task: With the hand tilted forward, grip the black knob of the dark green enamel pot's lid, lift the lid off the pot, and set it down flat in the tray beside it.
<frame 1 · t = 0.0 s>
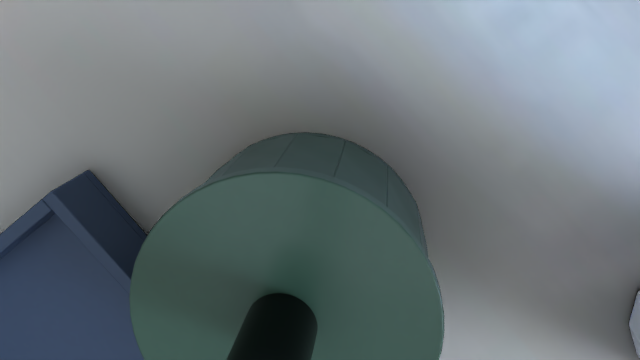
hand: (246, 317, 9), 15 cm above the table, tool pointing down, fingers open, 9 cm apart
lid: (285, 314, 20), point 6 cm above the table, touching pot
pot: (308, 243, 25), on the table
tray: (90, 353, 28), on the table
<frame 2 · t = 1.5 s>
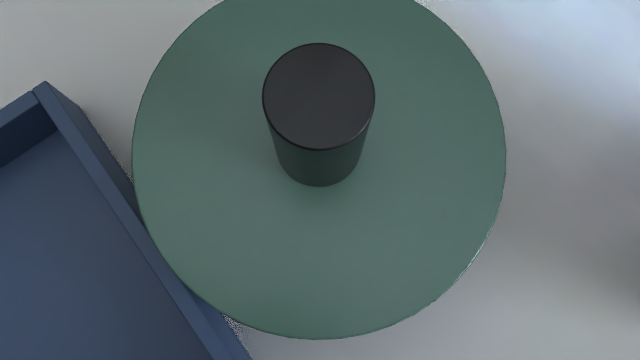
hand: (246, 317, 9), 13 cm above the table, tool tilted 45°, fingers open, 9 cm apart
lid: (318, 150, 17), point 6 cm above the table, touching pot
tray: (19, 351, 21), on the table
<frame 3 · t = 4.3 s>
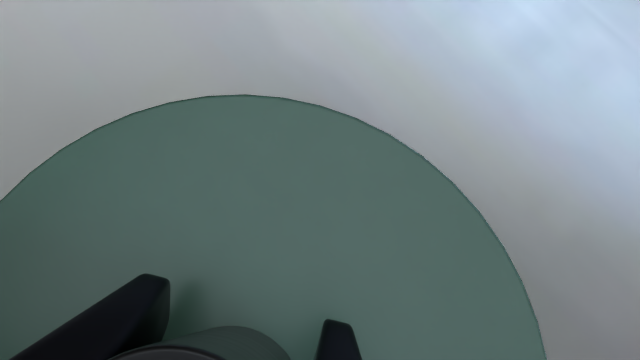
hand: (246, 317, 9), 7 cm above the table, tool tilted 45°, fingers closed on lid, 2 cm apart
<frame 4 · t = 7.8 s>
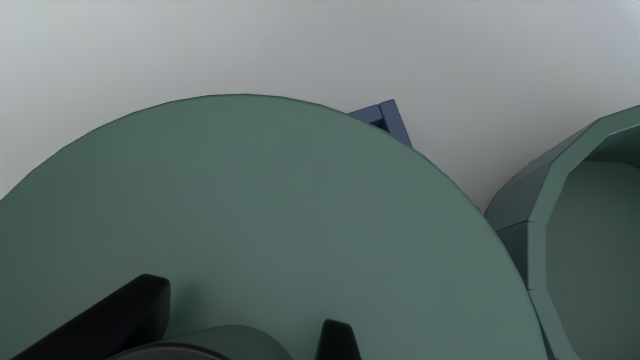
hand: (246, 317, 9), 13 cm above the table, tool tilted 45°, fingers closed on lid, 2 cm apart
pot: (600, 275, 22), on the table
tray: (276, 343, 22), on the table
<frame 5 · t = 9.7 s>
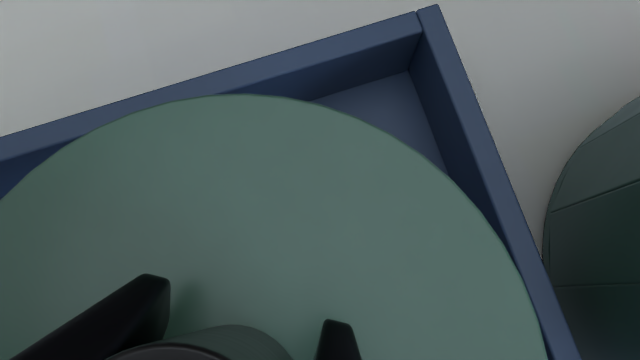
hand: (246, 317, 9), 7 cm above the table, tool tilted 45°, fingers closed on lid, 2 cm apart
tray: (264, 358, 15), on the table
when the fingers open (3 cm above the table, at t = 11.3 s): lid stays where it is, resting on tray.
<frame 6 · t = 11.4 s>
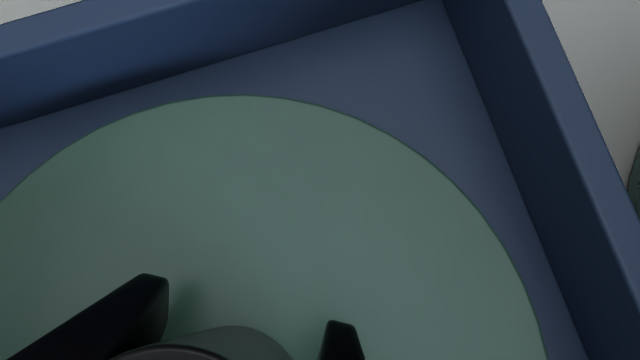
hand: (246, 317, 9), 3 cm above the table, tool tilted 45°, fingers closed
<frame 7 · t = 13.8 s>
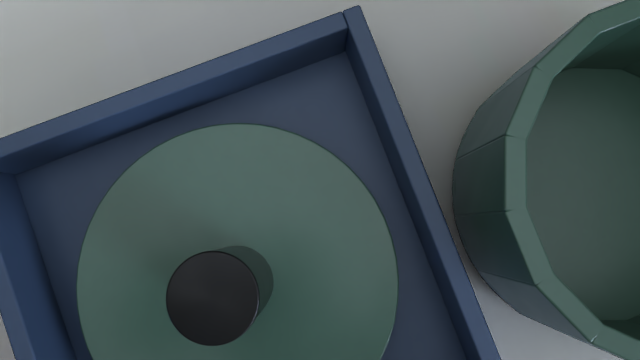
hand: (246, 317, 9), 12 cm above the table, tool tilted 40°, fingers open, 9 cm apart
lid: (239, 280, 19), point 1 cm above the table, touching tray
pot: (590, 192, 21), on the table
tray: (244, 277, 20), on the table
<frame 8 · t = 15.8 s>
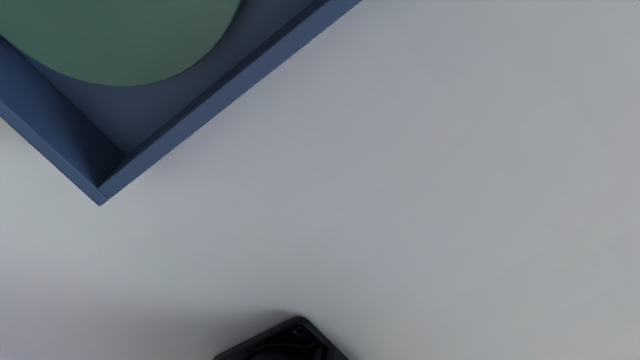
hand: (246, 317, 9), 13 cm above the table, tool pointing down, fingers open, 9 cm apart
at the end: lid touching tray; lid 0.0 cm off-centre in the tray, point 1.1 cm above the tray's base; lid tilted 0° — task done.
